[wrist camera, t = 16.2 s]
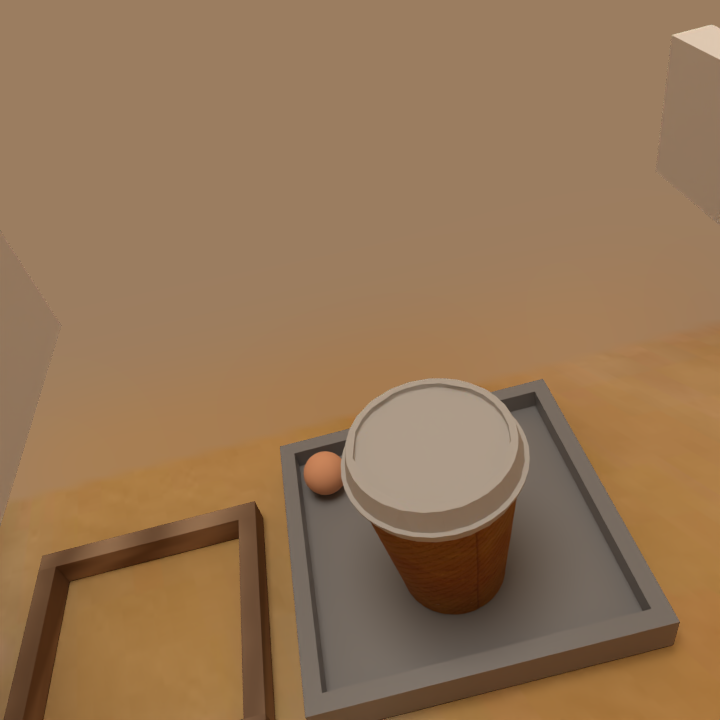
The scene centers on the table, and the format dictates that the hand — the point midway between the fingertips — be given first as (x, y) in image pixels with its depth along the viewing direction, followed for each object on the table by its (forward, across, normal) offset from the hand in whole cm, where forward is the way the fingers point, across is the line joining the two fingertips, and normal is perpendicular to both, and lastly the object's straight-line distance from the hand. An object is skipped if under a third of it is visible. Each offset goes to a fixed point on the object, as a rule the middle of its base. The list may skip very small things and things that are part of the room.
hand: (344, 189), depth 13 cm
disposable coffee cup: (+9, +2, -31) cm, 32 cm away
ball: (+18, -5, -31) cm, 36 cm away
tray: (+12, +2, -32) cm, 34 cm away
